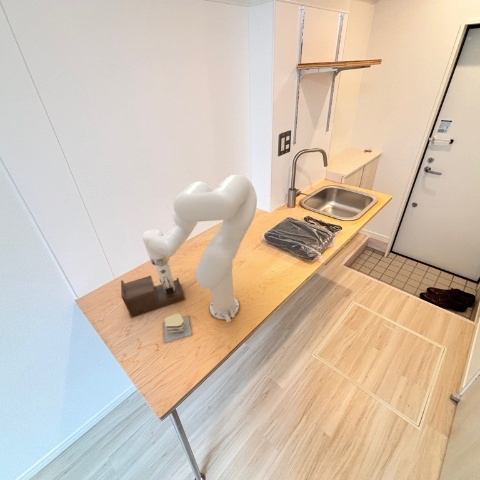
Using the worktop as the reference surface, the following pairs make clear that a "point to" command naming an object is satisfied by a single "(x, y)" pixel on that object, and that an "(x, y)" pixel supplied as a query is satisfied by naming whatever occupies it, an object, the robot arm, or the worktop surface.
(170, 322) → the stacked layers on plate
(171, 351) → the worktop surface
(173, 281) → the spice jar
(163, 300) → the step rack
